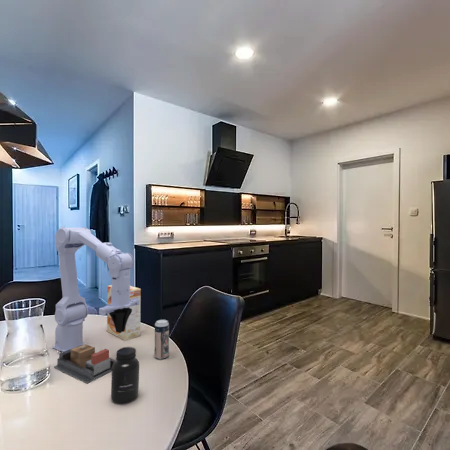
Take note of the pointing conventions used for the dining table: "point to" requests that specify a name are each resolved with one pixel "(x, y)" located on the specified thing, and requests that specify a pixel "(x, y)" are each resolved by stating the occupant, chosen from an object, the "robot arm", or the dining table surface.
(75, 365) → the grey tray
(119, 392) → the supplement bottle
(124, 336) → the coffeecake box
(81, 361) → the wooden block
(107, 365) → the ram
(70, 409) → the dining table surface
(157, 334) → the beer can
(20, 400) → the dining table surface
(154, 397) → the dining table surface
